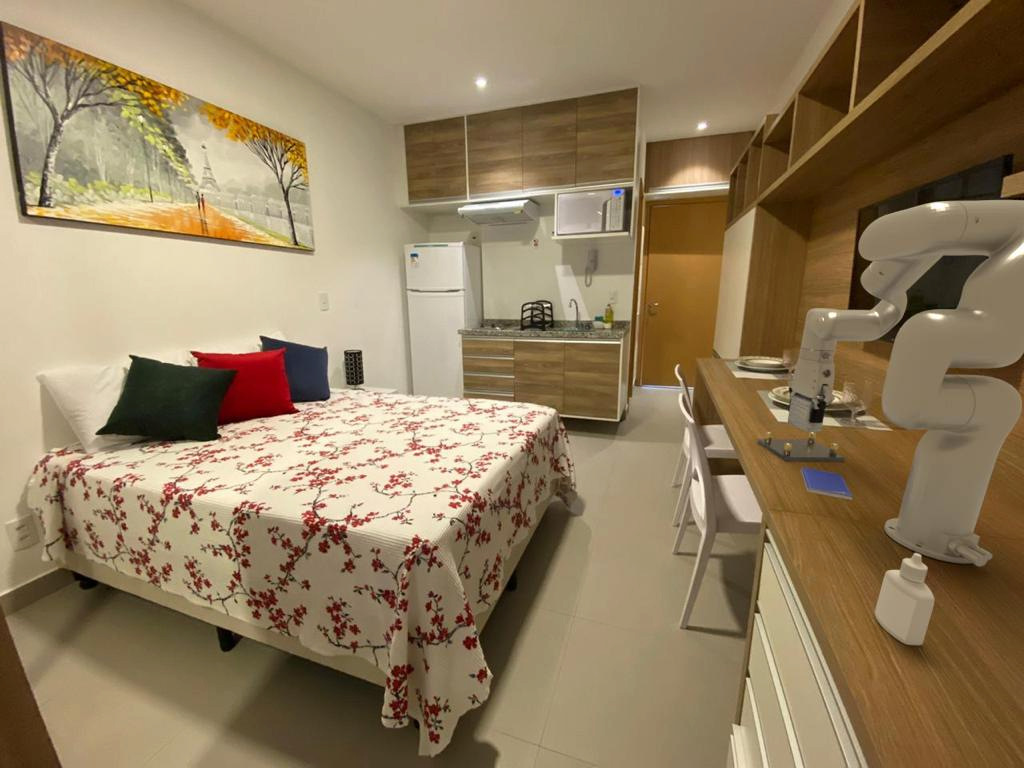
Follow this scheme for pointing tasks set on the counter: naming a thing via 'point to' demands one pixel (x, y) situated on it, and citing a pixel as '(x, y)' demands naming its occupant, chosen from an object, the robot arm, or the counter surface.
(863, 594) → the counter surface
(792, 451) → the plate
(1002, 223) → the robot arm
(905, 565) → the eye dropper bottle
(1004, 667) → the counter surface
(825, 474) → the hard drive
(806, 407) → the medicine box
